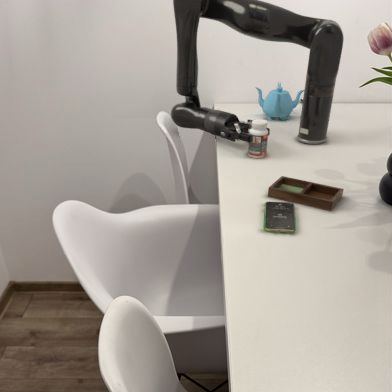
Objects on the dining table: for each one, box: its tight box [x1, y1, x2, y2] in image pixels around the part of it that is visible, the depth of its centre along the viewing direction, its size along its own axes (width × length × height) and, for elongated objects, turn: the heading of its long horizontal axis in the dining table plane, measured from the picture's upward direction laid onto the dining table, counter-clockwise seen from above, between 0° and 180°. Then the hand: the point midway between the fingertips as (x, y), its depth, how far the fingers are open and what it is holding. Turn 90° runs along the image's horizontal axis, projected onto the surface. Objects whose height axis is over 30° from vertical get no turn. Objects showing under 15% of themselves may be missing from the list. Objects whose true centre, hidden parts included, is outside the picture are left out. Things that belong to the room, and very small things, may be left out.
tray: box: [267, 175, 345, 212], centre depth 127 cm, size 9×17×2 cm, turn 60°
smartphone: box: [263, 201, 297, 234], centre depth 118 cm, size 8×1×15 cm
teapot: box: [254, 81, 304, 121], centre depth 178 cm, size 13×13×10 cm
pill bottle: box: [247, 118, 269, 159], centre depth 148 cm, size 6×6×10 cm
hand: (260, 135), depth 147 cm, fingers open, 8 cm apart
